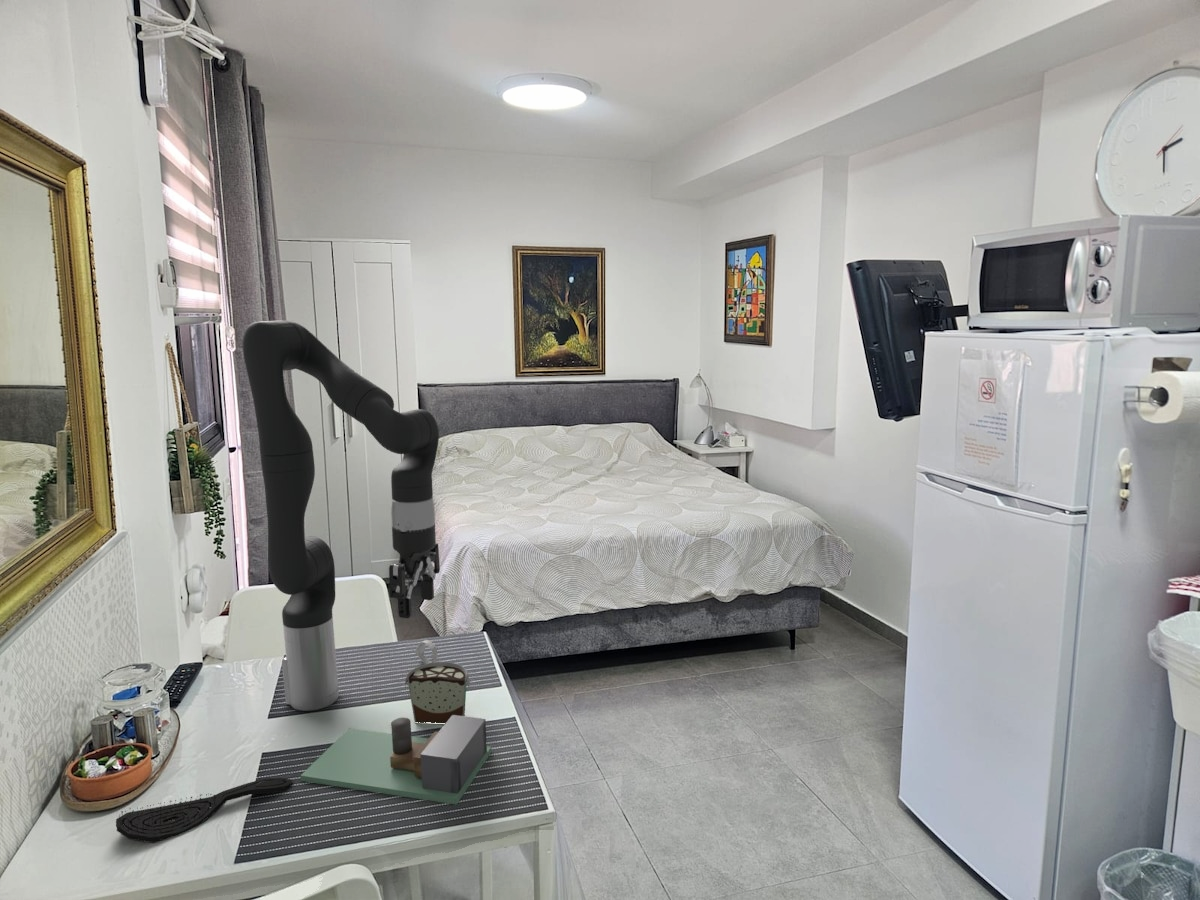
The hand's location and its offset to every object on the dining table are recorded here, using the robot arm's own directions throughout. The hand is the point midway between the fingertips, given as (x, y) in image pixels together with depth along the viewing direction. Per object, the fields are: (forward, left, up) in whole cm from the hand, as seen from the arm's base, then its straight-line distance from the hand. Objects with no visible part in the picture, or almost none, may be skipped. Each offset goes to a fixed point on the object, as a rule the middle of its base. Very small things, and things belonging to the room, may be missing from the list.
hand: (416, 608), depth 142 cm
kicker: (+4, -12, -22) cm, 26 cm away
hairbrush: (-22, -30, -24) cm, 44 cm away
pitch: (+1, -12, -24) cm, 27 cm away
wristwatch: (-11, +25, -24) cm, 36 cm away
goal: (+12, -12, -24) cm, 29 cm away
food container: (+2, +5, -24) cm, 24 cm away
